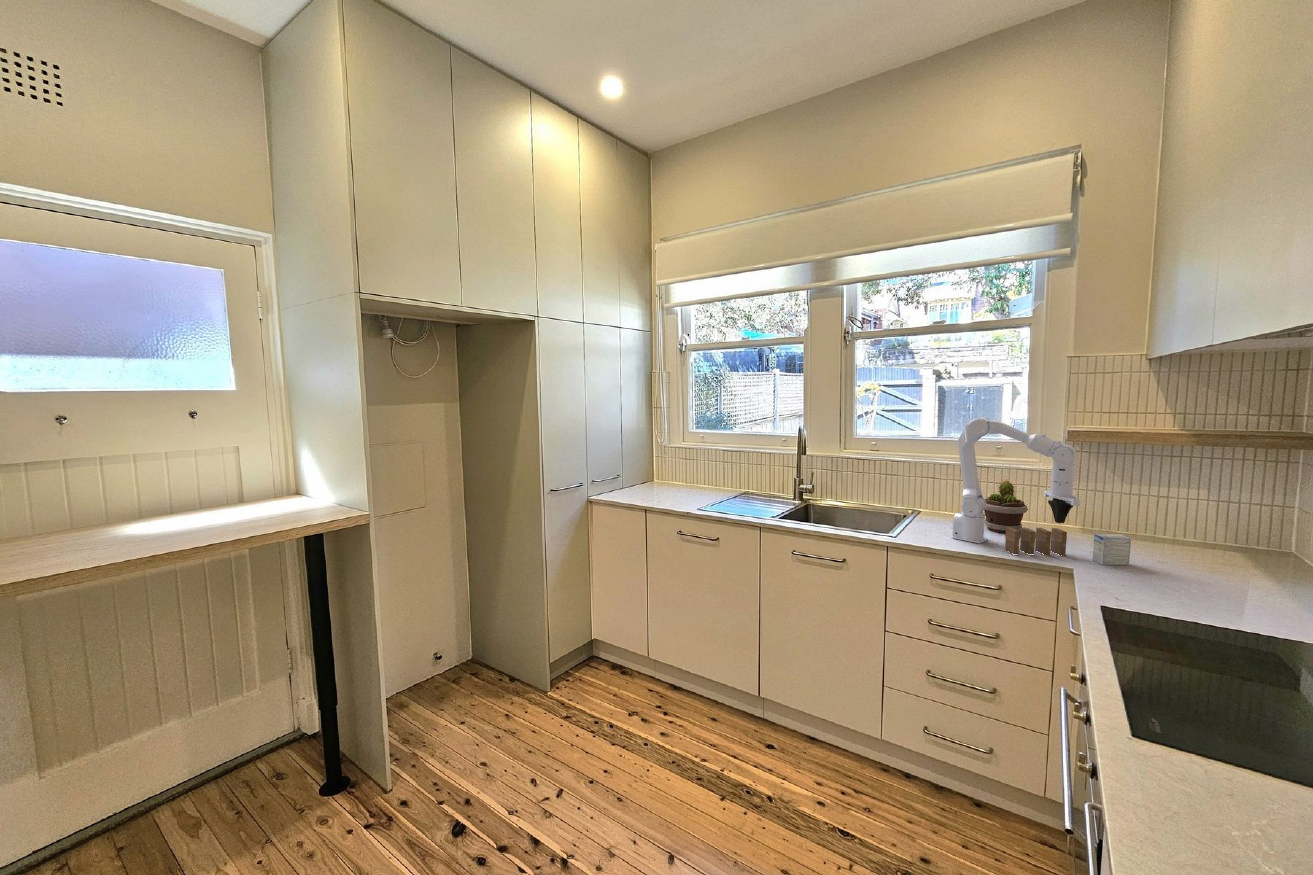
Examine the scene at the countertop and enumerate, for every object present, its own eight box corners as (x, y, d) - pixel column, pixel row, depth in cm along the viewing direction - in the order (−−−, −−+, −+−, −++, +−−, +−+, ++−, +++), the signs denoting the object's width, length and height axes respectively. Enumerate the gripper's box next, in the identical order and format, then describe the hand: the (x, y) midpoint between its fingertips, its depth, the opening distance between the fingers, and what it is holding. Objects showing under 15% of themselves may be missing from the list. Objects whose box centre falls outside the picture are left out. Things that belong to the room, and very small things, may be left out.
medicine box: (1118, 561, 168) (1120, 534, 167) (1129, 565, 163) (1131, 538, 163) (1091, 560, 169) (1093, 533, 168) (1101, 565, 164) (1103, 537, 163)
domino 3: (1044, 555, 174) (1045, 531, 173) (1034, 551, 179) (1036, 527, 178) (1049, 555, 174) (1051, 531, 173) (1040, 551, 178) (1041, 527, 178)
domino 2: (1028, 555, 174) (1030, 531, 173) (1019, 550, 179) (1021, 527, 178) (1034, 555, 174) (1035, 531, 173) (1024, 550, 179) (1026, 527, 178)
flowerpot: (1019, 538, 194) (1023, 483, 192) (973, 529, 205) (975, 478, 203) (1031, 530, 203) (1034, 478, 201) (986, 523, 215) (989, 474, 213)
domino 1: (1013, 555, 174) (1014, 531, 174) (1004, 550, 179) (1006, 527, 179) (1018, 555, 174) (1019, 531, 174) (1009, 550, 179) (1011, 527, 179)
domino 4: (1060, 555, 173) (1061, 531, 173) (1050, 551, 178) (1051, 527, 177) (1065, 556, 173) (1066, 532, 172) (1055, 551, 178) (1056, 527, 177)
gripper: (1091, 485, 166) (1088, 528, 167) (1060, 477, 180) (1057, 517, 182) (1067, 485, 166) (1064, 528, 168) (1038, 477, 181) (1035, 517, 182)
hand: (1059, 522), depth 175 cm, fingers closed
